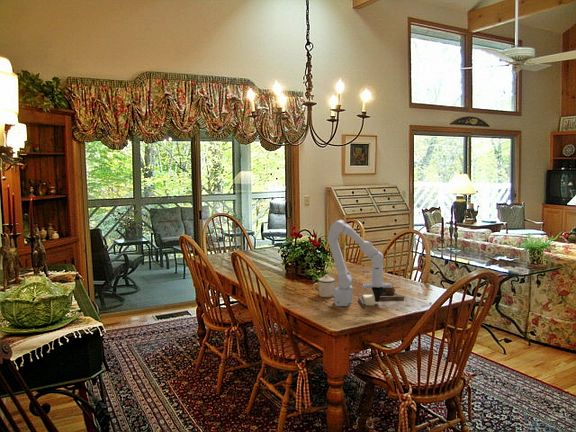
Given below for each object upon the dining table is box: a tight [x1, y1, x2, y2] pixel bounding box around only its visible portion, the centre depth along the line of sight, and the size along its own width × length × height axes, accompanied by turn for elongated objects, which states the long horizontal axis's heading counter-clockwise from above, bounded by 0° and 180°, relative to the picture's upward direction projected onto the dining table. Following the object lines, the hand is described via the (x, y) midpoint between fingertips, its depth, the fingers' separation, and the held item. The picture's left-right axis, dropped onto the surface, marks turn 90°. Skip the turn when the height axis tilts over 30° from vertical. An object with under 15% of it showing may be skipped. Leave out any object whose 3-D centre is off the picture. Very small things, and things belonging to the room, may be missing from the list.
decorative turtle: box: [381, 285, 396, 296], centre depth 264 cm, size 10×15×8 cm, turn 16°
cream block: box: [362, 294, 376, 306], centre depth 247 cm, size 5×5×4 cm
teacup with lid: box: [313, 274, 336, 298], centre depth 269 cm, size 12×9×12 cm
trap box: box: [357, 295, 411, 309], centre depth 247 cm, size 24×13×4 cm, turn 93°
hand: (377, 301), depth 247 cm, fingers closed
